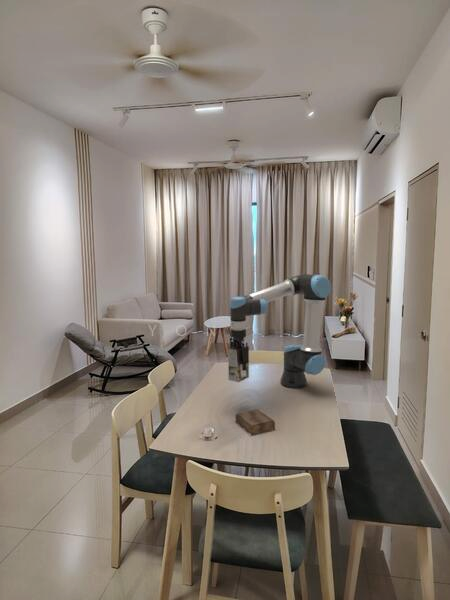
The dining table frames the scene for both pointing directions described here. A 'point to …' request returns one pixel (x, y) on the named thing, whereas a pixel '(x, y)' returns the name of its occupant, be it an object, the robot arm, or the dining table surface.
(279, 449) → the dining table surface
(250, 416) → the walnut base
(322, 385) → the dining table surface
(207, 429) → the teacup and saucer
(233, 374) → the coffee box
